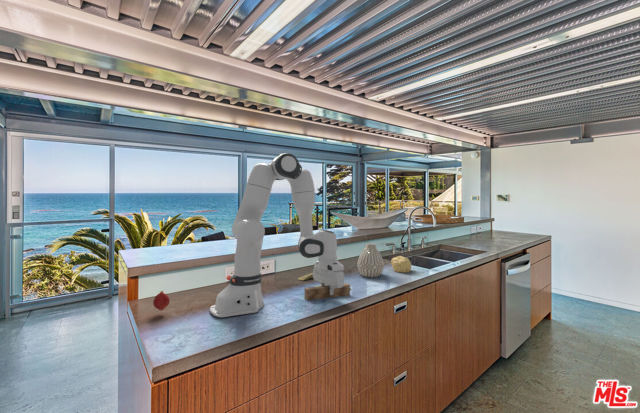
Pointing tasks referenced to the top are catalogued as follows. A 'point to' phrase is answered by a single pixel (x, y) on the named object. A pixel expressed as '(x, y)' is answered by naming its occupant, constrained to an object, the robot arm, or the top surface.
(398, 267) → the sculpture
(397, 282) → the top surface
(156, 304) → the onion
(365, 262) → the vase
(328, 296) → the walnut bar
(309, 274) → the tool
